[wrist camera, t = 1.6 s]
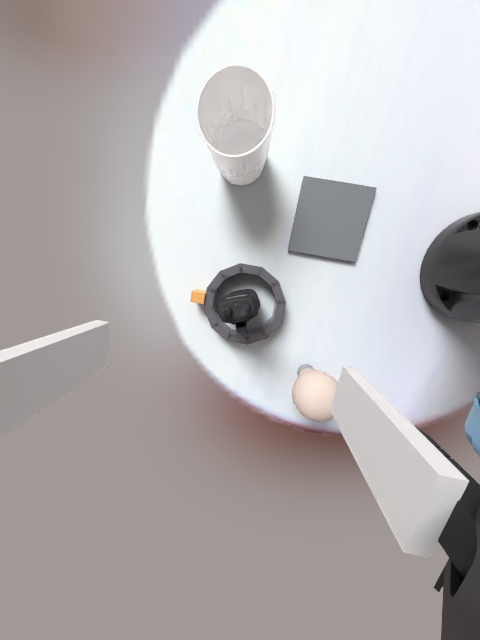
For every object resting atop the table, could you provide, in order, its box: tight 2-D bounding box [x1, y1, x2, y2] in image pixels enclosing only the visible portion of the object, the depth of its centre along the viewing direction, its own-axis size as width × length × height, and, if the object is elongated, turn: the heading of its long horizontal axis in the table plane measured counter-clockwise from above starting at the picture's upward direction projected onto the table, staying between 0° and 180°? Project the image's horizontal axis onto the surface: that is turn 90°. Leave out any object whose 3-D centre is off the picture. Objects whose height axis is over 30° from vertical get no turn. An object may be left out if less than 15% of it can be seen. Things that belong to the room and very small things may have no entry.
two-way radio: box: [217, 289, 260, 333], centre depth 29 cm, size 6×4×15 cm
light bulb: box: [292, 364, 338, 421], centre depth 33 cm, size 7×7×11 cm
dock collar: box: [191, 263, 286, 344], centre depth 35 cm, size 14×12×3 cm
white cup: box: [196, 64, 275, 186], centre depth 27 cm, size 8×8×10 cm
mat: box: [288, 176, 376, 262], centre depth 33 cm, size 10×10×1 cm
